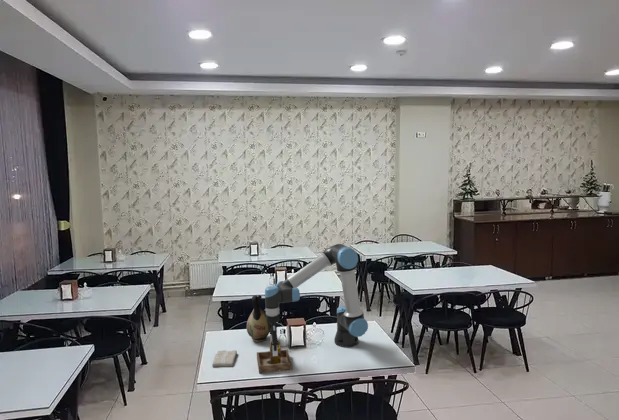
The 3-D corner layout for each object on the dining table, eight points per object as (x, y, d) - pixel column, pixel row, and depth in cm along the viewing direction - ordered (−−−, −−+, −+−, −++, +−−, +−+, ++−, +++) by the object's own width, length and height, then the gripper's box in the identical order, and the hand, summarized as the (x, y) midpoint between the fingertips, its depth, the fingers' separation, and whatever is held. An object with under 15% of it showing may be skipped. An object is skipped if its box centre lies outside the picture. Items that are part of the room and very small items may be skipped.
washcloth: (237, 353, 264) (237, 348, 264) (233, 367, 246) (233, 362, 246) (217, 354, 264) (217, 349, 263) (212, 368, 246) (211, 363, 246)
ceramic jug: (250, 334, 293) (249, 290, 289) (273, 334, 290) (271, 290, 287) (243, 344, 276) (241, 298, 273) (267, 345, 274) (265, 299, 270)
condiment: (283, 363, 247) (283, 342, 246) (270, 367, 242) (269, 346, 241) (277, 358, 253) (276, 338, 252) (264, 362, 249) (263, 342, 247)
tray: (287, 355, 259) (287, 349, 258) (292, 370, 241) (291, 363, 241) (256, 359, 255) (256, 352, 255) (259, 373, 238) (258, 366, 237)
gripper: (263, 307, 256) (265, 342, 259) (267, 322, 232) (269, 361, 234) (276, 306, 258) (278, 341, 260) (281, 321, 233) (283, 359, 236)
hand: (274, 350), depth 247 cm, fingers open, 13 cm apart
